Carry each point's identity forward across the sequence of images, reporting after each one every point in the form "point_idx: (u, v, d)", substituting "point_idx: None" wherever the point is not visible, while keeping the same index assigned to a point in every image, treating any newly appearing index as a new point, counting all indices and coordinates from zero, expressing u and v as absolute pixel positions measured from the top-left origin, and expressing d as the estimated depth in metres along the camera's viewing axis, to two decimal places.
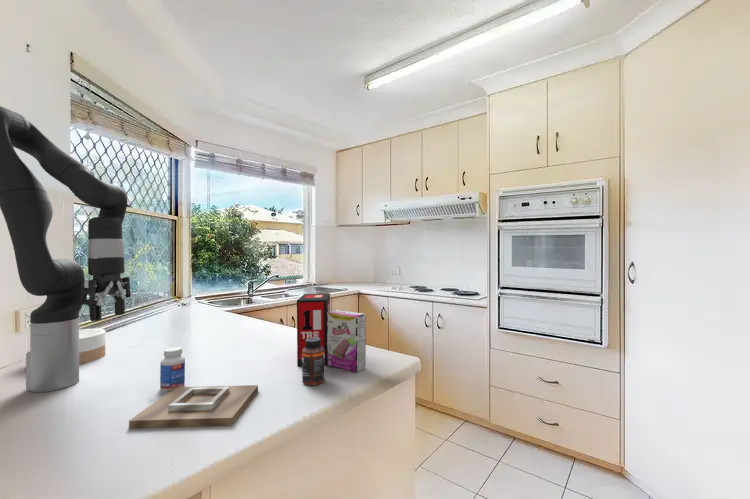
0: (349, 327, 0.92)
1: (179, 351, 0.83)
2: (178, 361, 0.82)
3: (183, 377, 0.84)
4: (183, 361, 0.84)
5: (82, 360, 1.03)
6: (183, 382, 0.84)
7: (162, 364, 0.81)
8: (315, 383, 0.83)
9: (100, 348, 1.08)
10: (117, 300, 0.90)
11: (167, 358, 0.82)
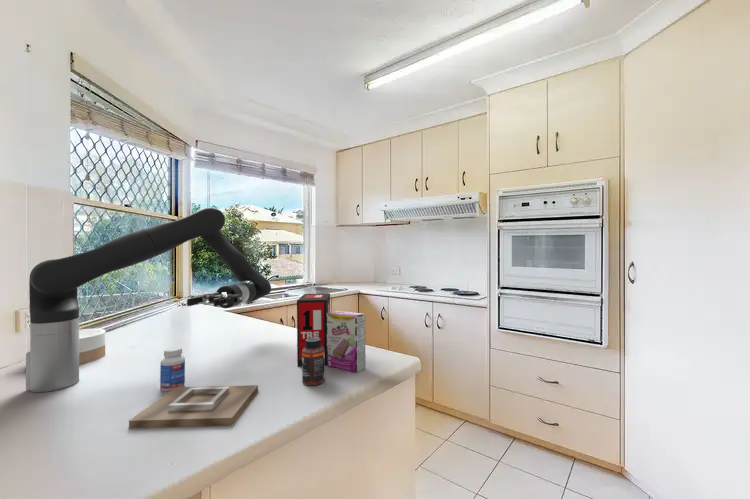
0: (349, 327, 0.93)
1: (179, 351, 0.83)
2: (178, 361, 0.82)
3: (183, 377, 0.84)
4: (183, 361, 0.84)
5: (82, 360, 1.03)
6: (183, 382, 0.84)
7: (162, 364, 0.81)
8: (315, 383, 0.83)
9: (100, 348, 1.08)
10: (197, 299, 0.99)
11: (167, 358, 0.82)
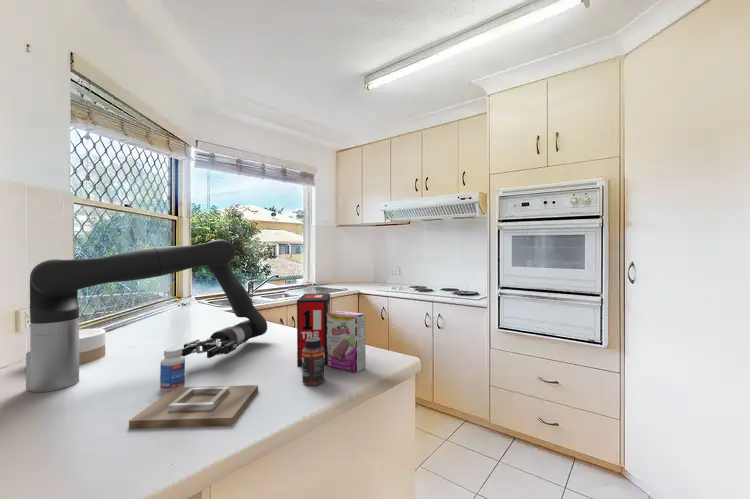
0: (349, 327, 0.93)
1: (179, 351, 0.83)
2: (178, 361, 0.82)
3: (183, 377, 0.84)
4: (183, 361, 0.84)
5: (82, 360, 1.03)
6: (183, 382, 0.84)
7: (162, 364, 0.81)
8: (315, 383, 0.83)
9: (100, 348, 1.08)
10: (190, 348, 0.96)
11: (167, 358, 0.82)
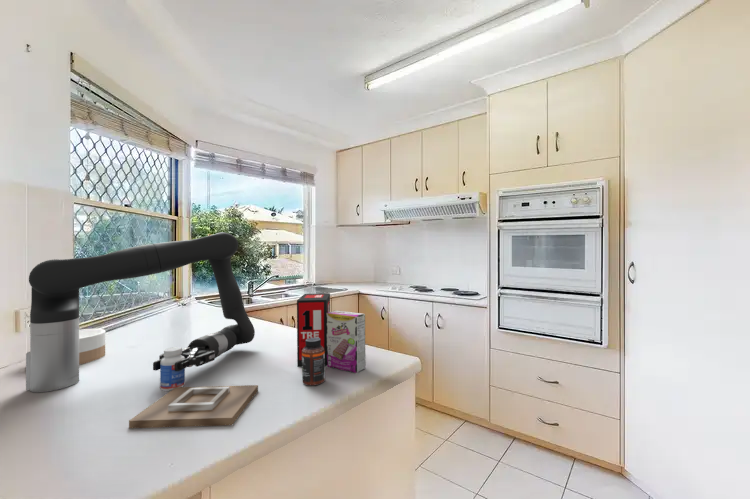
0: (349, 327, 0.93)
1: (179, 351, 0.83)
2: None
3: (183, 377, 0.84)
4: None
5: (82, 360, 1.03)
6: (183, 382, 0.84)
7: (162, 364, 0.81)
8: (315, 383, 0.83)
9: (100, 348, 1.08)
10: None
11: (167, 357, 0.82)
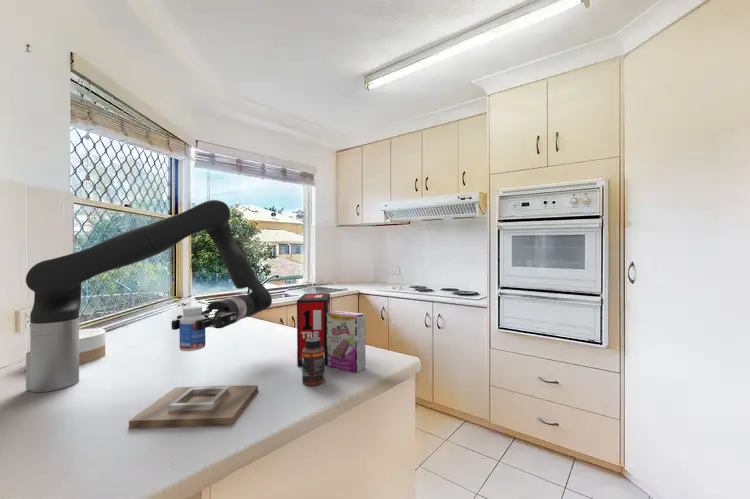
0: (349, 327, 0.93)
1: (199, 309, 0.77)
2: None
3: (204, 338, 0.78)
4: None
5: (82, 360, 1.03)
6: (204, 343, 0.78)
7: (182, 322, 0.75)
8: (315, 383, 0.83)
9: (100, 348, 1.08)
10: None
11: (187, 316, 0.76)
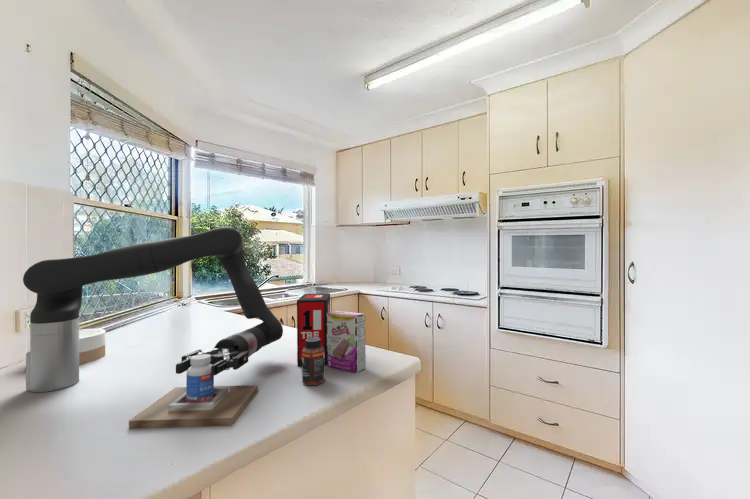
0: (349, 327, 0.93)
1: (208, 359, 0.72)
2: (207, 371, 0.71)
3: (212, 389, 0.73)
4: None
5: (82, 360, 1.03)
6: (212, 395, 0.73)
7: (189, 374, 0.70)
8: (315, 383, 0.83)
9: (100, 348, 1.08)
10: (190, 361, 0.75)
11: (194, 367, 0.71)
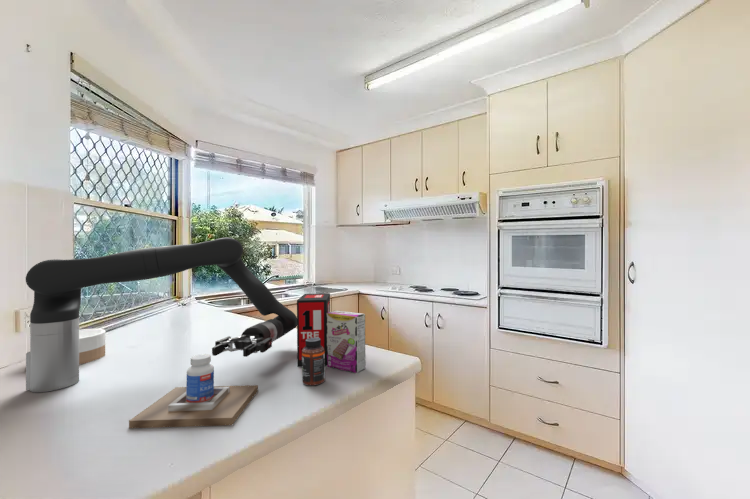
0: (349, 327, 0.93)
1: (208, 359, 0.72)
2: (207, 371, 0.71)
3: (212, 389, 0.73)
4: (212, 370, 0.73)
5: (82, 360, 1.03)
6: (212, 395, 0.73)
7: (189, 374, 0.70)
8: (315, 383, 0.83)
9: (100, 348, 1.08)
10: (223, 345, 0.87)
11: (194, 367, 0.71)
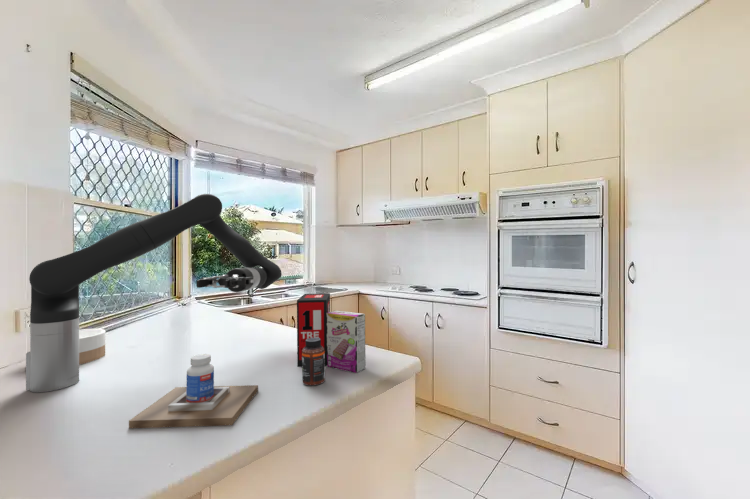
0: (349, 327, 0.93)
1: (208, 359, 0.72)
2: (207, 371, 0.71)
3: (212, 389, 0.73)
4: (212, 370, 0.73)
5: (82, 360, 1.03)
6: (212, 395, 0.73)
7: (189, 374, 0.70)
8: (315, 383, 0.83)
9: (100, 348, 1.08)
10: (207, 281, 0.94)
11: (194, 367, 0.71)
